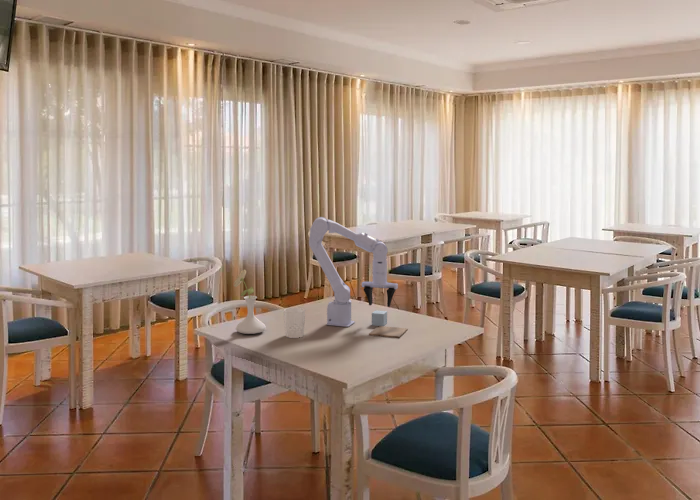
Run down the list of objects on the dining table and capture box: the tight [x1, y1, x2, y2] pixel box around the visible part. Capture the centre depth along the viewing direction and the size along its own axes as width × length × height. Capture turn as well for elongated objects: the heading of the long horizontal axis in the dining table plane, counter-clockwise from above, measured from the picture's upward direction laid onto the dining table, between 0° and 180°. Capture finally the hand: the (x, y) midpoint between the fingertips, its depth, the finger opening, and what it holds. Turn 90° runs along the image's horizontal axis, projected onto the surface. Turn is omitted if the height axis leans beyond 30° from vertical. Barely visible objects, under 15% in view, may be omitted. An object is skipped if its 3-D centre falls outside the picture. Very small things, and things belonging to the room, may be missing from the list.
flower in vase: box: [233, 269, 267, 335], centre depth 240 cm, size 13×11×25 cm
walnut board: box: [368, 325, 409, 339], centre depth 242 cm, size 12×12×1 cm
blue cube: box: [371, 309, 388, 327], centre depth 254 cm, size 5×5×5 cm
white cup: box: [283, 307, 306, 339], centre depth 237 cm, size 8×8×10 cm
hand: (379, 305), depth 253 cm, fingers open, 7 cm apart
